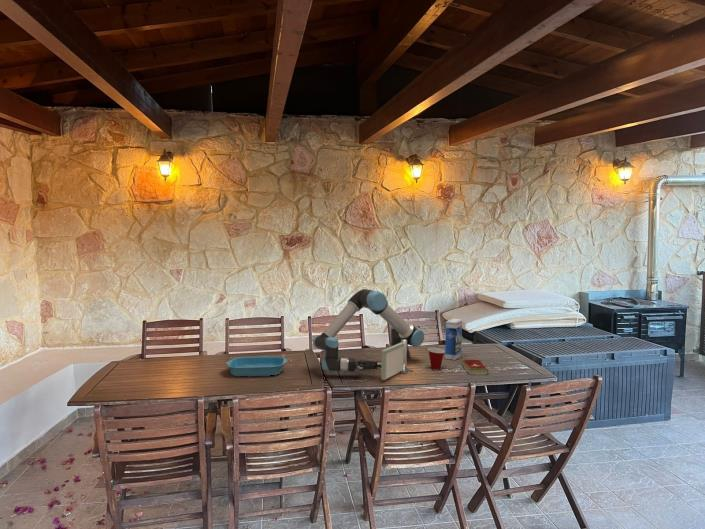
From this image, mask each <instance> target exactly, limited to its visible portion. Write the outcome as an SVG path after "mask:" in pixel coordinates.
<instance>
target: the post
mask: <svg viewBox="0 0 705 529" xmlns="http://www.w3.org/2000/svg"><path fill="white" fill-rule="evenodd" d="M401 343H404V346H403V370H402V371H400V372H401V373H400V374H403V373H404V374H403V375H405V373H406V374H409V373H411V371H412V372H413V371H414V369H410V368H407V367H408V366H407V365H408V364H407V359H408V358H407V340H406V339H402V340H401ZM408 372H409V373H408Z"/></svg>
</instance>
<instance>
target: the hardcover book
mask: <svg viewBox="0 0 705 529" xmlns="http://www.w3.org/2000/svg"><path fill="white" fill-rule="evenodd" d="M460 360H461V366H462V365H463V366H464V367H463V366H462V367H463V368H464V370H465V369H466V370H465V371H466V373H467V372H468V373H469V374H468V373H467V374H468V375H484V374H487V375H489V368H488V367H487V366H485V364H484V363H483V362H482V361H481V359H477V358H476V359H474V358H473V359H472V358H470V359H466V358H462V359H460Z"/></svg>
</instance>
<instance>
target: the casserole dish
mask: <svg viewBox="0 0 705 529" xmlns="http://www.w3.org/2000/svg"><path fill="white" fill-rule="evenodd" d="M287 363H288V359H287V358H285V357H283V356H275V355H274V356H239V357H235V358H232V359H230V360H228V361H226V362H225V365H226V366H228V369H229V371H230V375H232V376H234V377H240V376H248V377H271V376H270V375H275V376H278V375H279V374H280V373H281V372H282V370H283V367H284V365H285V364H287ZM277 374H278V375H277Z"/></svg>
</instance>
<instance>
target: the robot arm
mask: <svg viewBox="0 0 705 529" xmlns="http://www.w3.org/2000/svg"><path fill="white" fill-rule="evenodd" d="M364 308H365V309H368V310H370V311H371V313H373V314H374V315H375V316H377V315H379V316H380V317H381V318H382V319H383V320H384V321H386V323H387V324H389V325H390V326H391V328H390V347H391V346H394V345H396V344H398V343H401V340H402V339H406V340H407V359H409V358H411V352H410V349H409V346H411V347H415V348H417V347H420V346H421V345H422V344H423V342H424V340H425V333H424V331H423V330H422V329H420V328H417V327H416V326H415V325H414V324H413V323H411V322H407V321H406V320H405V319H404V318H403V317H402V316H401V315H400V314H398V312H397V311H396V310H394V308H392V307H391V306H390V305H389V300H387V296H386V295H385V294H384V293H383V292H381V291H379V290H373V289H368V288H363V289H360V290H359V291H356V292H355V293H354V294H353V295H352V296H351V297H350V298H349V299H348V300H347V303H346V305H345V307H343V309H342V310H341V311H340V312H339V313H338V314H337V315H336V316H335V318H334V319H333V320H332V321H331V322H330V324H328V326H327V327H326V328H325V329H324V330H323V332H322V333H321V334H320V335H316V336H314V337H313V339H312V345H313V346H314V347H315V348H316V349H318V350H321V351H323V352H325V357H323V358H322V360H321V369H322V370H323V371H327V372H328V371H329V372H344V373H345V372H347V371H348V372H355V370H356V369H357V370H359V371H365V370H367V371H368V370H377V369H381V362H378V361H372V360H371V361H370V360H363V359H360V360H358V361H356V358H355V357H352V358H351V357H350V358H348V357H339V346H340V345H339V339H338V337H336V336H337V335H338V333H340V332H341V331H342V329H343V328H344V327H345V326H346V325H347V323H348V322H350V320H351V318H353V316H355V314H356V313H357V312H360V311H361V310H362V309H364Z"/></svg>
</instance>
